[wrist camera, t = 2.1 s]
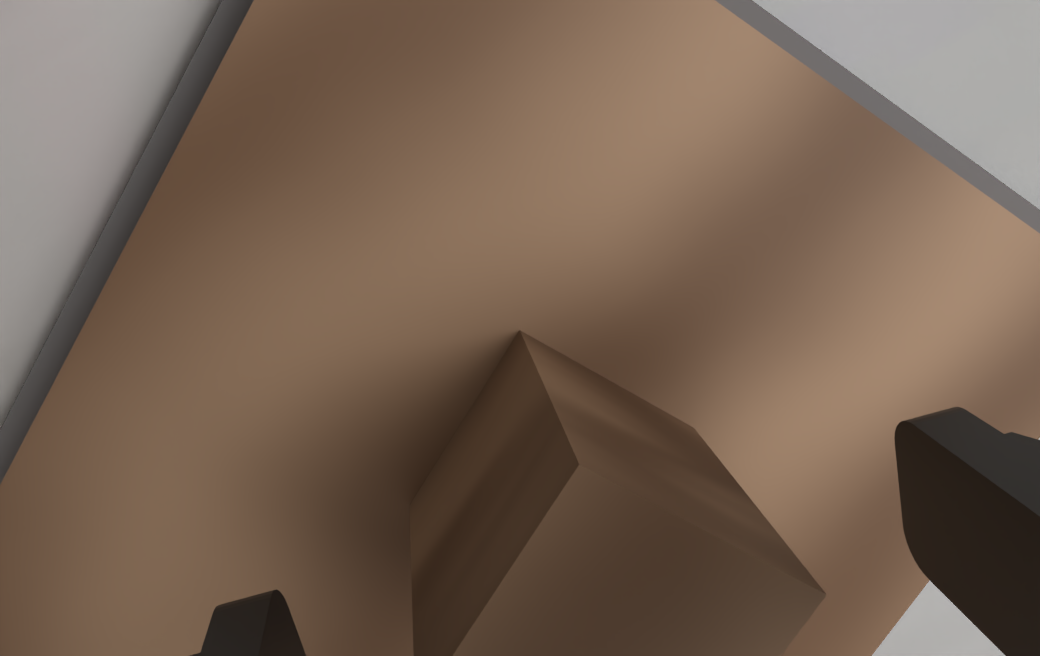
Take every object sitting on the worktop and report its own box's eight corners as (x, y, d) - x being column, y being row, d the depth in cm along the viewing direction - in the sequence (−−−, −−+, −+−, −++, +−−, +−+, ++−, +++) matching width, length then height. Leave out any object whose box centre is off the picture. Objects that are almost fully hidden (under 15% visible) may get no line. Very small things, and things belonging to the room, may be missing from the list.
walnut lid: (1106, 294, 17) (1459, 414, 11) (654, 889, 19) (757, 1223, 14) (380, -224, 13) (367, -435, 7) (-58, 610, 15) (-309, 918, 10)
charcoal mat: (1126, 279, 17) (1142, 284, 17) (655, 896, 20) (660, 913, 19) (367, -271, 13) (366, -280, 12) (-88, 608, 16) (-100, 621, 15)
